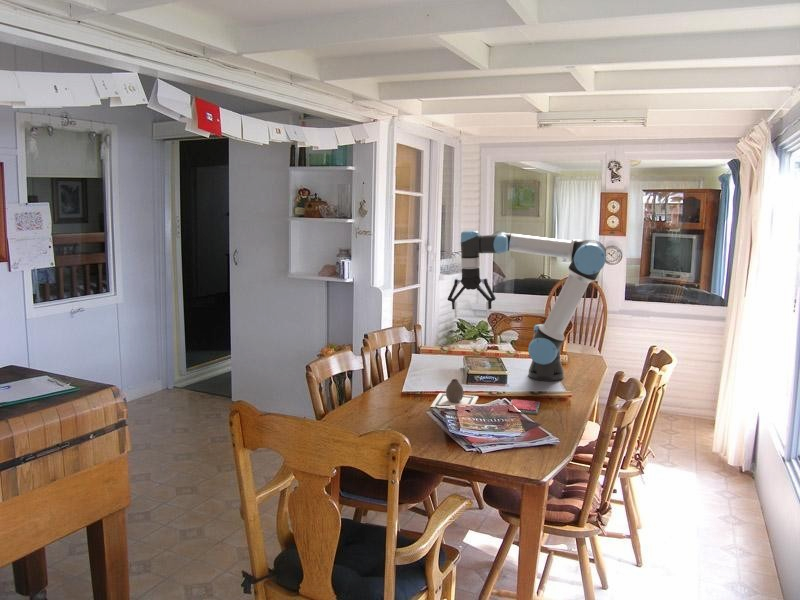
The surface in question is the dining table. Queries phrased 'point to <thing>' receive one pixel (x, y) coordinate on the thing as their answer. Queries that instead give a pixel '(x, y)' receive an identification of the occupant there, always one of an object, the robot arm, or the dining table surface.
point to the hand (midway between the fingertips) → (472, 316)
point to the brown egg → (454, 391)
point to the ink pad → (526, 406)
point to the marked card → (443, 401)
